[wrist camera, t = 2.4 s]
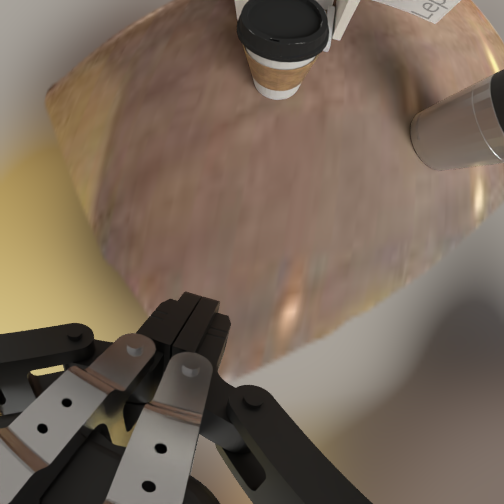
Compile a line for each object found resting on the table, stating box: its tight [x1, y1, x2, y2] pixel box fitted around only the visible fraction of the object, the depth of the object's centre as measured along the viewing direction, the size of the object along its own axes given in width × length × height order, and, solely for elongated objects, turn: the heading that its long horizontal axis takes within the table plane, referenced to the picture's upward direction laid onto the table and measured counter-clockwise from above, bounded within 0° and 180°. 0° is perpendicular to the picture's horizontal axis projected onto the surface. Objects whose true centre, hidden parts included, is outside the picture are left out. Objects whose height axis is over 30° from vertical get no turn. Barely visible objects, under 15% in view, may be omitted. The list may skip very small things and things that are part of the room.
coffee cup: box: [237, 0, 329, 100], centre depth 23 cm, size 8×8×15 cm
